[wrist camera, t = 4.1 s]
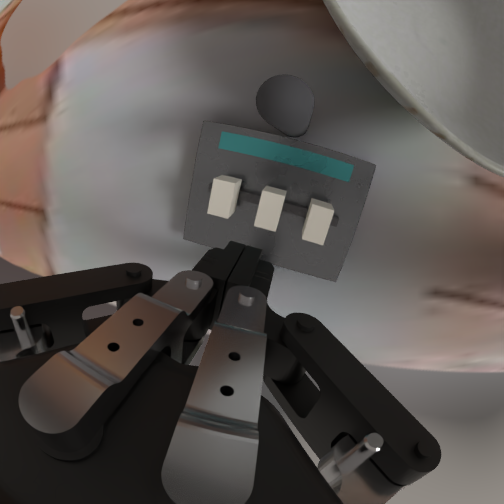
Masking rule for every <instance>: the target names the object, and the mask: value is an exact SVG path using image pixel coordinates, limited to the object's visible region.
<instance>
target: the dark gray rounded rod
mask: <svg viewBox="0 0 504 504" xmlns="http://www.w3.org/2000/svg"><path fill="white" fill-rule="evenodd" d="M256 105H257V109H258V112H259V113H260V115H261V116H262V118H263V119H264V120H265V121H266V122H268V123H269V124H271V125H272V126H274V127H275V128H277V129H279V130H280V131H282V132H283V133H285V134H286V135H288V136H290V137H300V136H302V135H303V134H305V132H306V131H307V129H308V126H309V122H310V119H311V116H312V112H313V109H314V96H313V93H312V91H311V89H310V87H309V86H308V85H307V84H306V83H305V82H304V81H303V80H301V79H299V78H297V77H295V76H292V75H278V76H274V77H272V78H270V79H268V80H267V81H265V82H264V83H263V84H262V86H261V87H260V88H259V90H258V93H257V97H256Z"/></svg>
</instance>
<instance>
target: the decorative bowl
mask: <svg viewBox="0 0 504 504" xmlns="http://www.w3.org/2000/svg"><path fill="white" fill-rule="evenodd" d="M323 2H324V4H325V6H326V7H327V9H328V11H329V13H330V15H331V17H332V18H333V20H334V21H335V23H336V25H337V26H338V28H339V30H340V31H341V33H342V34H343V36H344V37H345V39H346V40H347V42H348V43H349V45H350V46H351V47H352V49H353V50H354V52H355V53H356V54H357V56H358V57H359V58H360V60H361V61H362V62H363V63H364V65H365V66H366V67H367V69H368V70H369V71H370V72H371V73H372V74H373V76H374V77H375V78H376V79H377V80H378V81H379V82H380V84H381V85H382V86H383V87H384V88H385V89H386V90H387V91H388V92H389V93H390V94H391V95H392V96H393V97H394V98H395V99H396V100H397V101H398V102H399V103H400V104H401V105H402V106H403V107H404V108H405V109H406V110H407V111H408V112H409V113H410V114H411V115H412V116H414V117H415V118H416V119H417V120H418V121H419V122H420V123H421V124H423V125H424V126H425V127H426V128H427V129H429V130H430V131H431V132H432V133H434V134H435V135H436V136H437V137H439V138H440V139H441V140H443V141H444V142H445V143H446V144H448V145H449V146H450V147H452V148H453V149H455V150H456V151H458V152H459V153H460V154H462V155H463V156H465V157H466V158H468V159H470V160H471V161H473V162H474V163H476V164H478V165H479V166H481V167H483V168H485V169H487V170H489V171H491V172H493V173H495V174H497V175H499V176H502V177H504V0H323Z"/></svg>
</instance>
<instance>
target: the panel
mask: <svg viewBox="0 0 504 504" xmlns="http://www.w3.org/2000/svg"><path fill="white" fill-rule="evenodd" d="M375 168H376V165H375V164H372V163H369V162H366V161H363V160H361V159H358V158H355V157H352V156H349V155H346V154H343V153H339V152H336V151H333V150H330V149H327V148H323V147H320V146H316V145H313V144H309V143H306V142H302V141H298V140H295V139H291V138H287V137H283V136H279V135H275V134H270V133H266V132H261V131H257V130H252V129H247V128H242V127H237V126H232V125H226V124H221V123H215V122H209V121H203V126H202V131H201V136H200V141H199V146H198V151H197V156H196V161H195V167H194V173H193V178H192V184H191V190H190V196H189V203H188V209H187V216H186V223H185V230H184V238H183V239H185V240H189V241H192V242H195V243H199V244H202V245H206V246H209V247H213V248H216V247H217V248H221V249H224V248H225V247H226V246H227V244H228V243H229V242H230V241H234V242H238V243H242V244H245V245H246V246H247V245H249V246H253V247H256V248H260V249H263V250H262V255H261V259H260V260H263V261H267V262H271V264H273V265H276V266H280V267H283V268H287V269H291V270H294V271H298V272H301V273H305V274H308V275H312V276H316V277H319V278H323V279H326V280H330V281H333V282H336V281H337V278H338V276H339V273H340V271H341V268H342V265H343V263H344V260H345V258H346V255H347V252H348V250H349V247H350V244H351V241H352V239H353V236H354V233H355V230H356V227H357V225H358V222H359V219H360V216H361V213H362V210H363V207H364V204H365V201H366V197H367V194H368V191H369V188H370V185H371V181H372V178H373V174H374V171H375ZM221 175H225V176H230V177H234V178H238V179H242V182H241V186H240V191H239V195H238V200H237V205H236V209H235V212H234V213H233V214H232V215H231V216H230V217H229V218H228V219H226V218H223V217H219V216H215V215H211V214H207V212H208V206H209V201H210V195H211V190H212V185H213V179H214V178H216V177H218V176H221ZM266 186H270V187H274V188H278V189H281V190H285V191H287V192H286V196H285V200H284V204H283V207H282V211H281V215H280V219H279V222H278V226H277V229H276V232H274V231H271V230H267V229H263V228H260V227H256V226H254V223H255V219H256V215H257V210H258V206H259V202H260V198H261V194H262V190H263V189H264V188H265V187H266ZM311 198H313V199H317V200H320V201H323V202H327V203H330V204H332V206H333V209H334V214H333V217H332V220H331V223H330V226H329V229H328V232H327V235H326V238H325V241H324V244H323V245H320V244H317V243H313V242H310V241H306V240H303V239H302V229H303V225H304V222H305V219H306V215H307V212H308V209H309V205H310V202H311Z"/></svg>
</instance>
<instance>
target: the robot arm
mask: <svg viewBox="0 0 504 504" xmlns="http://www.w3.org/2000/svg"><path fill="white" fill-rule="evenodd" d="M262 250H263V249H260V248H256V247H253V246H249V245H247V246H246V245H245V244H242V243H238V242H234V241H230V242H229V243H228V244H227V246H226V247H225V248H224V249H221V248H217V247H216V248H213V249H211V250H208V252H207V253H206V254H205V255H204V256H203V257H202V259H201V260H200V261H199V262H198V263H197V265H196V266H195V267H194V268H193V269H192V270H187V271H182V272H179V273H178V274H176V275H175V276H174V277H173V278H172V279H171V280H170V281H163V280H156V279H152V276H153V272H152V270H151V269H150V268H149V267H148V266H146V265H143V264H140V263H125V264H119V265H113V266H107V267H100V268H94V269H88V270H82V271H76V272H70V273H64V274H58V275H52V276H46V277H40V278H34V279H28V280H22V281H16V282H10V283H5V284H0V504H385V503H386V502H387V501H388V500H390V499H391V497H393V496H394V495H395V494H396V493H397V492H398V491H400V490H402V489H404V488H405V487H407V486H409V485H410V484H412V483H413V482H415V481H417V480H418V479H420V478H422V477H423V476H424V475H426V474H428V473H429V472H431V471H432V470H434V469H435V468H436V467H437V466H438V464H439V462H440V459H441V450H440V446H439V444H438V442H437V440H436V439H435V438H434V437H433V436H432V435H431V434H430V433H429V432H428V431H427V430H426V429H425V428H424V427H423V426H422V425H421V424H420V423H419V422H418V421H417V420H416V419H415V417H414V416H412V415H411V413H410V412H408V410H407V409H405V407H404V406H403V405H402V404H401V403H400V402H399V401H398V400H397V399H396V398H395V397H394V396H393V395H392V394H391V393H390V392H389V391H388V390H387V389H386V388H385V387H384V386H383V385H382V384H381V383H380V382H379V381H378V380H377V379H376V378H375V377H374V376H373V375H372V374H371V373H370V372H369V371H368V370H367V369H366V368H365V367H364V366H363V365H362V364H361V363H360V362H359V361H358V360H357V359H356V358H355V357H354V356H353V355H352V354H351V353H350V352H349V350H348V349H347V348H346V347H345V346H344V345H343V344H342V343H341V342H340V341H339V340H338V339H337V338H336V337H335V336H334V335H333V334H332V333H331V332H330V331H329V330H328V329H327V328H326V327H325V326H324V325H323V324H322V323H321V322H320V321H319V320H317V319H316V318H314V317H313V316H310V315H308V314H304V313H292V314H289V315H288V316H286V318H284V317H282V316H280V315H278V314H276V313H275V312H274V311H272V310H271V309H270V307H269V306H268V304H267V297H268V293H269V289H270V285H271V281H272V277H273V272H274V267H273V265H272V264H271V262H267V261H263V260H260V259H261V255H262ZM113 301H116V302H117V311H116V312H115V313H114V314H112V315H108V316H104V317H99V318H94V319H90V320H83V319H82V313H83V311H84V310H85V309H86V308H87V307H89V306H94V305H99V304H104V303H108V302H113ZM208 329H210V330H212V331H211V333H210V336H209V339H208V342H207V345H206V348H205V351H204V353H203V356H202V359H201V362H200V365H199V366H191V365H189V364H190V363H191V361H192V359H193V358H194V356H195V355H196V353H197V351H198V350H199V348H200V347H201V345H202V344H203V341H204V336H205V334H206V333H207V331H208ZM306 371H307V372H308V373H309V374H310V376H311V377H312V378H313V379H314V380H315V382H316V383H317V384H318V386H319V388H320V391H319V390H318V389H317V387H316V386H315V385H314V384H313V382H312V381H311V380H310V379H309V378H308V376H307V375H306V374H305V372H306ZM263 379H264V382H265V384H266V386H267V387H268V388H269V390H270V392H271V393H272V395H273V396H274V397H275V399H276V400H277V402H278V403H279V405H280V406H281V407H282V409H283V410H284V412H285V413H286V414H287V416H288V417H289V419H290V420H291V422H292V423H293V424H294V426H295V427H296V428H297V430H298V431H299V433H300V434H301V435H302V437H303V438H304V439H305V441H306V442H307V443H308V445H309V446H310V447H311V449H312V450H313V451H314V453H316V455H317V456H318V458H319V459H320V461H319V463H318V468H317V467H316V466H315V464H314V463H313V461H312V460H311V459H310V457H309V456H308V454H307V453H306V451H305V450H304V448H303V447H302V446H301V444H300V443H299V441H298V440H297V438H296V437H295V435H294V434H293V432H292V431H291V429H290V428H289V426H288V425H287V423H286V422H285V420H284V418H283V417H282V415H281V414H280V412H279V411H278V410H277V409H276V408H275V407H274V405H272V404H271V403H270V402H269V401H268V400H267V399H266V398H264V397H263V396H262V395H261V389H262V380H263Z"/></svg>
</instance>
